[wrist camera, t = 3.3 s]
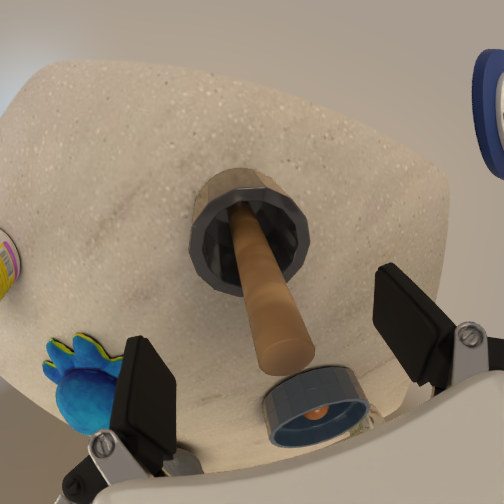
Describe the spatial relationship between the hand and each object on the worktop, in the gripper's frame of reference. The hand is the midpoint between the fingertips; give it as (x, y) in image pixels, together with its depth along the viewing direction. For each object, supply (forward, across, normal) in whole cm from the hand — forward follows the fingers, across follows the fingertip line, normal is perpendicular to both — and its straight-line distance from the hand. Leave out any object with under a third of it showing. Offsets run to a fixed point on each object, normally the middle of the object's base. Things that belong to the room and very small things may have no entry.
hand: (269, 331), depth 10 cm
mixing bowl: (+13, -4, +29) cm, 32 cm away
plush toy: (+13, +22, +16) cm, 31 cm away
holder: (+13, 0, 0) cm, 13 cm away
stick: (+12, 0, 0) cm, 12 cm away
